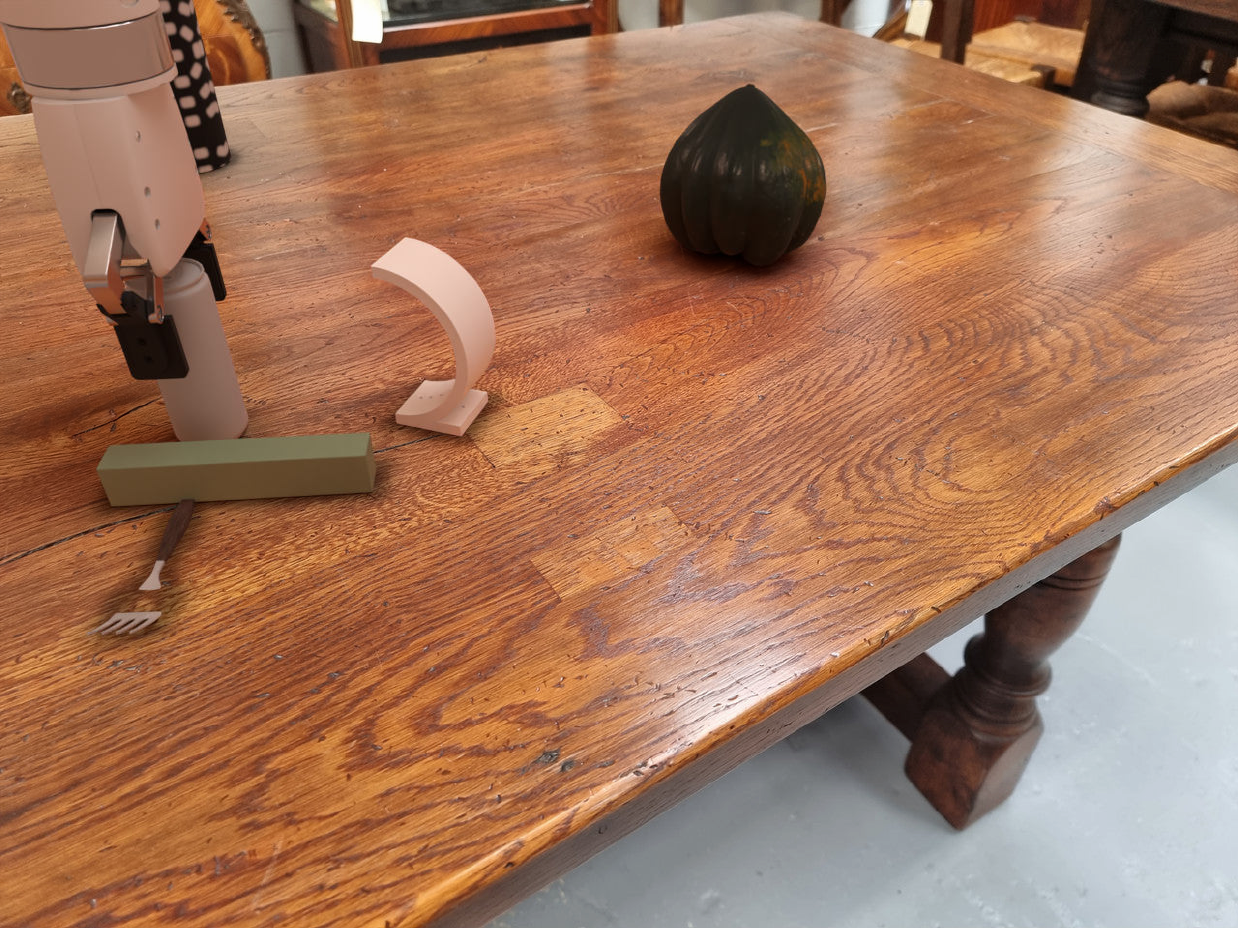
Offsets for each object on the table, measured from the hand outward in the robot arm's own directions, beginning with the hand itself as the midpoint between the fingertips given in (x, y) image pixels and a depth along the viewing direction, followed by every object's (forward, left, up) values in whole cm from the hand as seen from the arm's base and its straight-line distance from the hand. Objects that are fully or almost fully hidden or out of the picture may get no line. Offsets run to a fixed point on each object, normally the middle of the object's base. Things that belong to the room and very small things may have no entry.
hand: (183, 336), depth 59 cm
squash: (+42, +27, -8) cm, 51 cm away
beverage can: (0, 0, -8) cm, 8 cm away
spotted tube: (-15, +54, -8) cm, 57 cm away
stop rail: (+4, -6, -8) cm, 11 cm away
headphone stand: (+16, +1, -8) cm, 18 cm away
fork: (0, -12, -8) cm, 14 cm away
